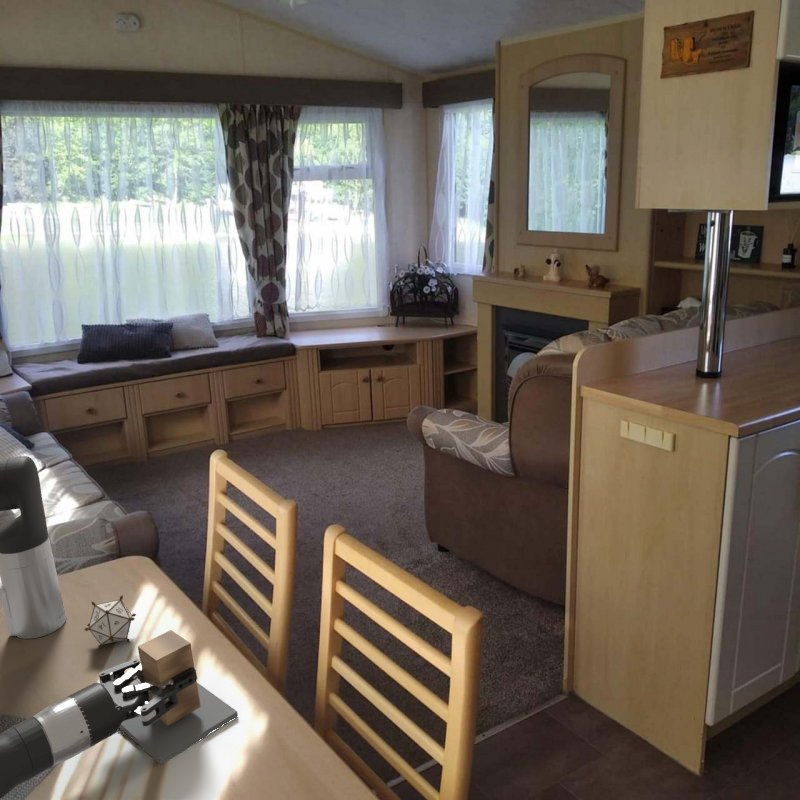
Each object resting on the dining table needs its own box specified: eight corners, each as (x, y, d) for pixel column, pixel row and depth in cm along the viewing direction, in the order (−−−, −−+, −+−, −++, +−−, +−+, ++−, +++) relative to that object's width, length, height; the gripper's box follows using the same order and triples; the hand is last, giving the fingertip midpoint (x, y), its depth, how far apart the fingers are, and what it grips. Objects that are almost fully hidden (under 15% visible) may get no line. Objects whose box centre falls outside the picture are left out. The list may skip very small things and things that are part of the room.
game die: (122, 664, 143) (114, 643, 135) (79, 646, 143) (69, 624, 136) (148, 619, 148) (142, 596, 140) (107, 603, 149) (98, 579, 141)
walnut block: (168, 725, 116) (156, 660, 113) (149, 710, 120) (137, 646, 117) (200, 706, 120) (190, 642, 117) (181, 692, 124) (171, 629, 121)
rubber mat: (160, 765, 112) (159, 759, 112) (116, 725, 121) (115, 719, 120) (238, 717, 121) (237, 711, 120) (191, 683, 130) (191, 677, 129)
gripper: (94, 723, 103) (207, 661, 114) (48, 679, 113) (156, 626, 124) (104, 771, 105) (214, 706, 116) (58, 724, 115) (163, 668, 126)
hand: (183, 665), depth 120 cm, fingers closed on walnut block, 5 cm apart
